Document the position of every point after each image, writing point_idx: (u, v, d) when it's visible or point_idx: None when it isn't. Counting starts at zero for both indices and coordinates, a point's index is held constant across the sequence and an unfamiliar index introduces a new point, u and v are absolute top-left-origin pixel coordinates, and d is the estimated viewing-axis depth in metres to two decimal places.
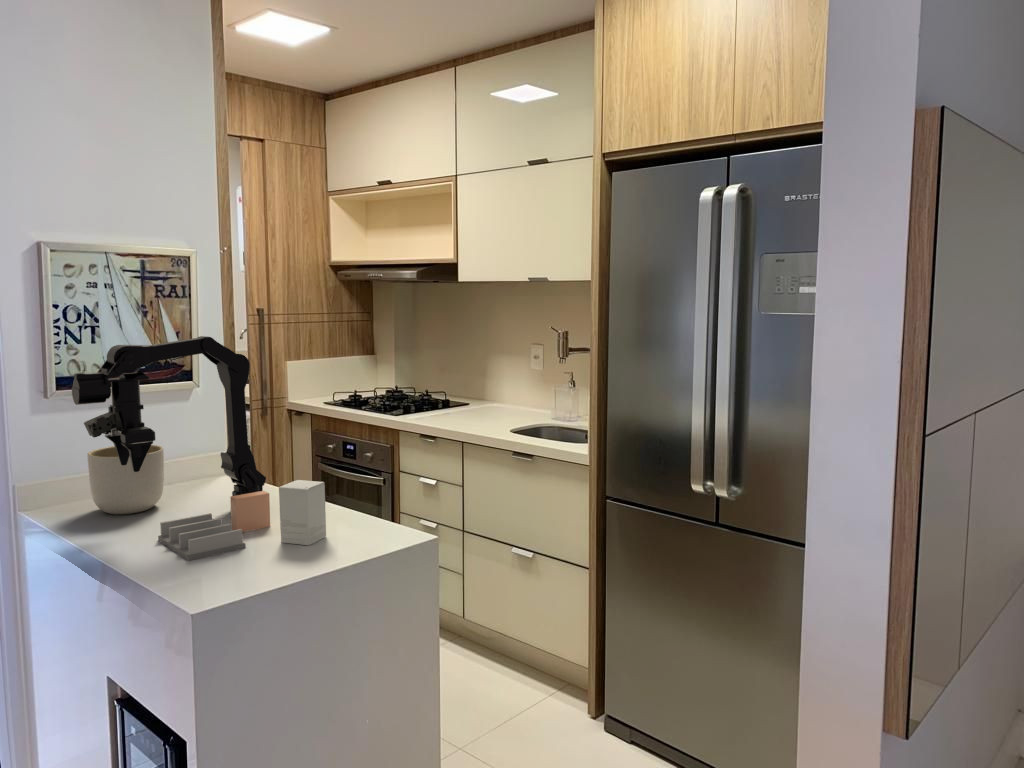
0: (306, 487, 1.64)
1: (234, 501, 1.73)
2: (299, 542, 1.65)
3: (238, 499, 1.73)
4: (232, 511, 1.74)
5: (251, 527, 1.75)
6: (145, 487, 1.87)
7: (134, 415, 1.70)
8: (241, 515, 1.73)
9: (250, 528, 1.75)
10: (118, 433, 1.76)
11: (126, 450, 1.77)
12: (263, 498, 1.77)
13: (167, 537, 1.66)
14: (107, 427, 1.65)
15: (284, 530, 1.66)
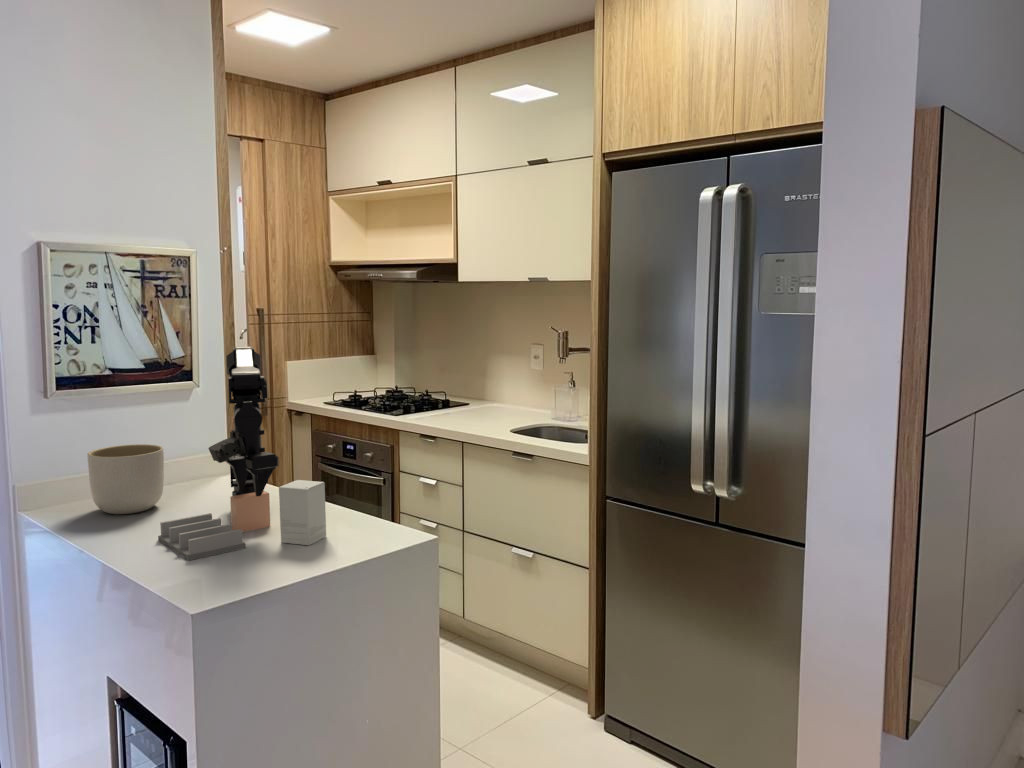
0: (306, 487, 1.64)
1: (234, 501, 1.73)
2: (299, 542, 1.65)
3: (238, 499, 1.73)
4: (232, 511, 1.74)
5: (251, 527, 1.75)
6: (145, 487, 1.87)
7: (256, 441, 1.73)
8: (241, 515, 1.73)
9: (250, 528, 1.75)
10: (236, 457, 1.79)
11: (243, 474, 1.80)
12: (263, 498, 1.77)
13: (167, 537, 1.66)
14: (233, 453, 1.68)
15: (284, 530, 1.66)
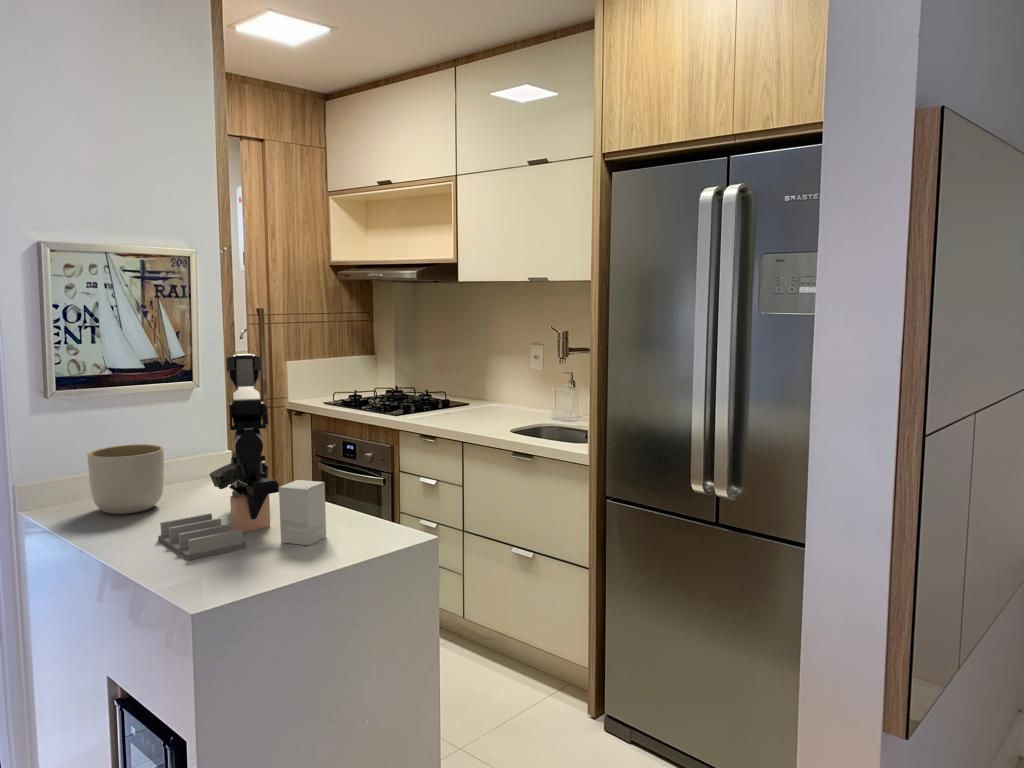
0: (306, 487, 1.64)
1: (234, 501, 1.73)
2: (299, 542, 1.65)
3: (238, 499, 1.73)
4: (232, 511, 1.74)
5: (251, 527, 1.75)
6: (145, 487, 1.87)
7: (257, 466, 1.74)
8: (241, 514, 1.73)
9: (250, 528, 1.75)
10: (242, 484, 1.77)
11: None
12: None
13: (167, 537, 1.66)
14: (234, 479, 1.69)
15: (284, 530, 1.66)
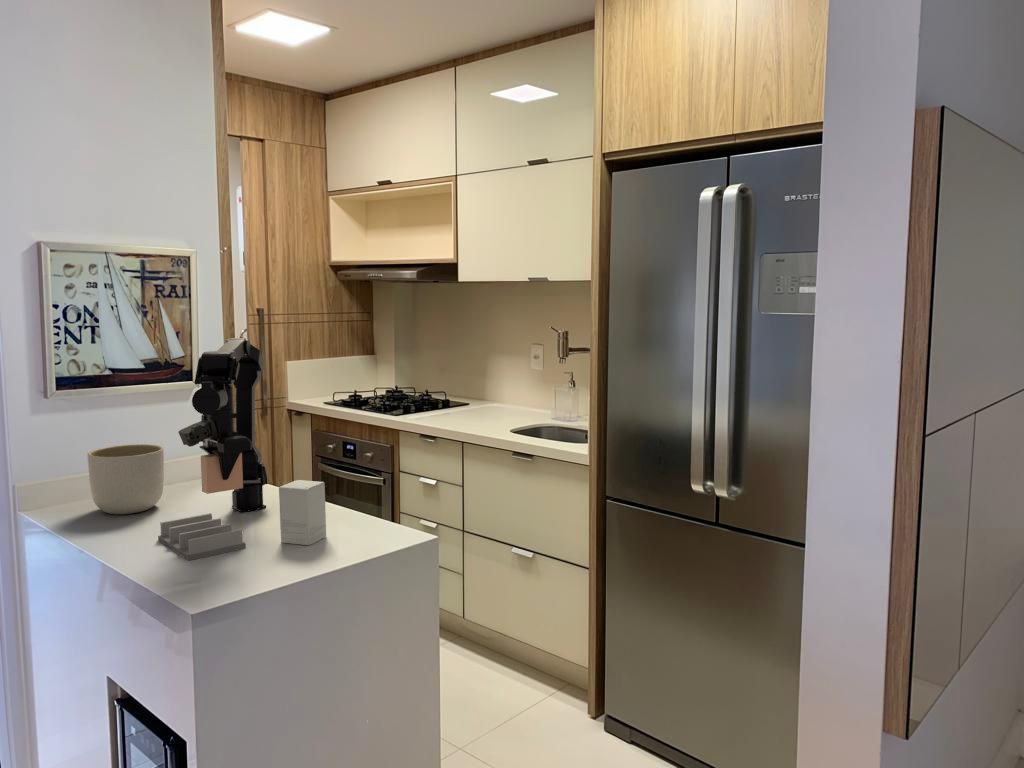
0: (306, 487, 1.64)
1: (205, 460, 1.65)
2: (299, 542, 1.65)
3: (209, 458, 1.65)
4: (202, 471, 1.66)
5: (222, 488, 1.67)
6: (145, 487, 1.87)
7: (228, 424, 1.66)
8: (212, 474, 1.65)
9: (221, 489, 1.67)
10: (213, 444, 1.69)
11: None
12: None
13: (167, 537, 1.66)
14: (204, 436, 1.61)
15: (284, 530, 1.66)
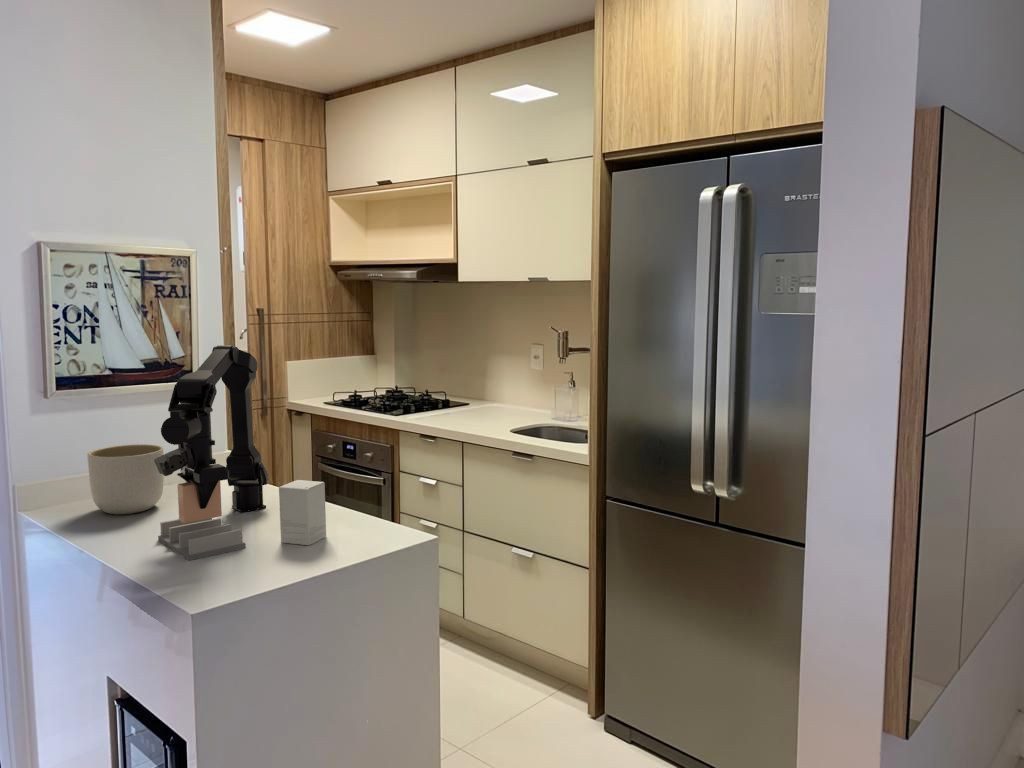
0: (306, 487, 1.64)
1: (181, 488, 1.60)
2: (299, 542, 1.65)
3: (185, 487, 1.60)
4: (179, 500, 1.62)
5: (200, 517, 1.63)
6: (145, 487, 1.87)
7: (205, 452, 1.61)
8: (188, 503, 1.61)
9: (199, 518, 1.63)
10: (191, 471, 1.65)
11: None
12: None
13: (167, 537, 1.66)
14: (179, 465, 1.56)
15: (284, 530, 1.66)
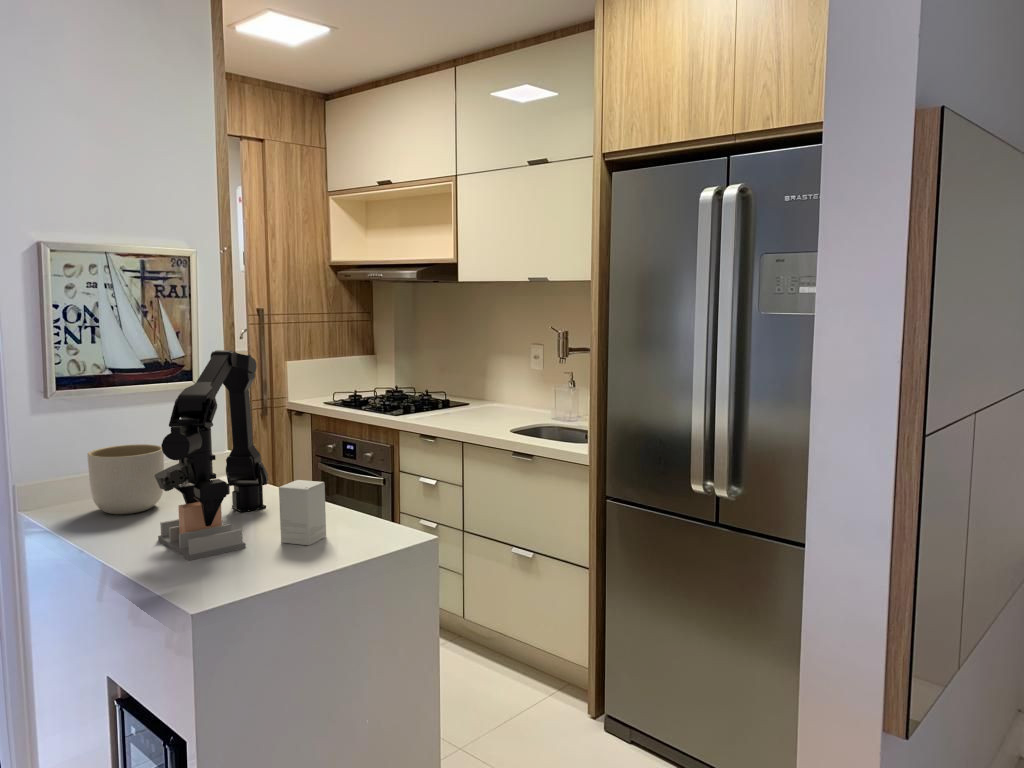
0: (306, 487, 1.64)
1: (182, 510, 1.61)
2: (299, 542, 1.65)
3: (186, 508, 1.61)
4: (180, 521, 1.62)
5: None
6: (145, 487, 1.87)
7: (206, 467, 1.62)
8: (189, 525, 1.62)
9: None
10: (187, 484, 1.67)
11: (195, 501, 1.68)
12: None
13: (167, 537, 1.66)
14: (180, 481, 1.57)
15: (284, 530, 1.66)
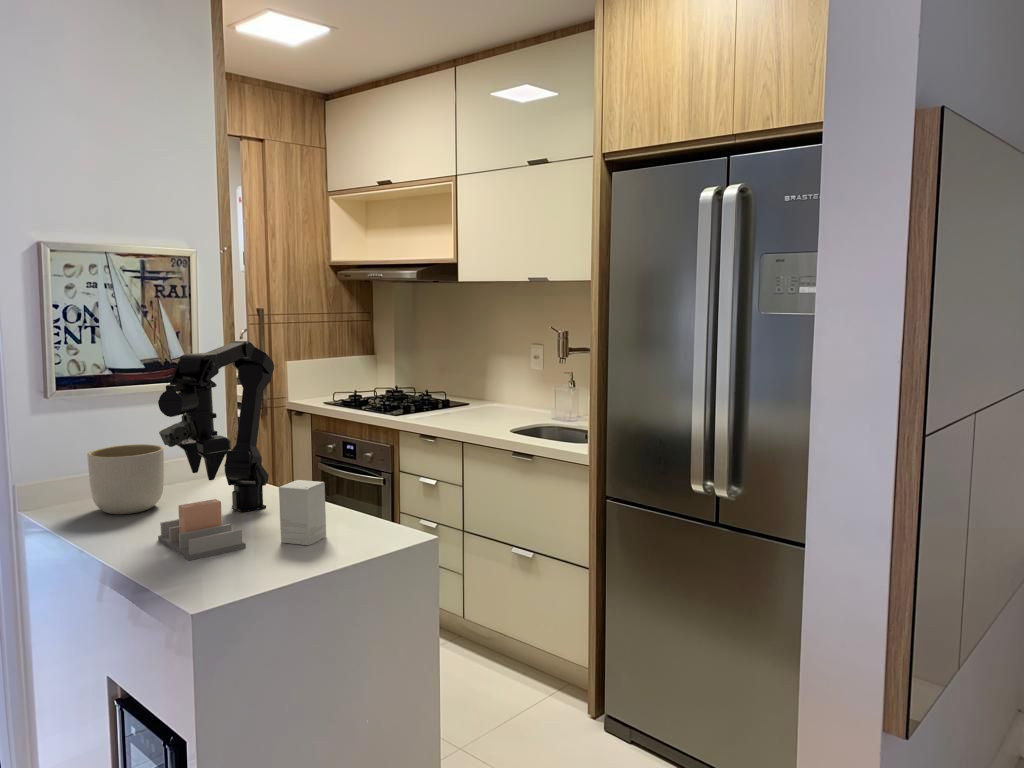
0: (306, 487, 1.64)
1: (182, 510, 1.61)
2: (299, 542, 1.65)
3: (186, 508, 1.61)
4: (180, 521, 1.62)
5: None
6: (145, 487, 1.87)
7: (208, 424, 1.71)
8: (189, 525, 1.62)
9: None
10: (189, 441, 1.77)
11: (197, 458, 1.78)
12: (214, 507, 1.65)
13: (167, 537, 1.66)
14: (184, 437, 1.66)
15: (284, 530, 1.66)
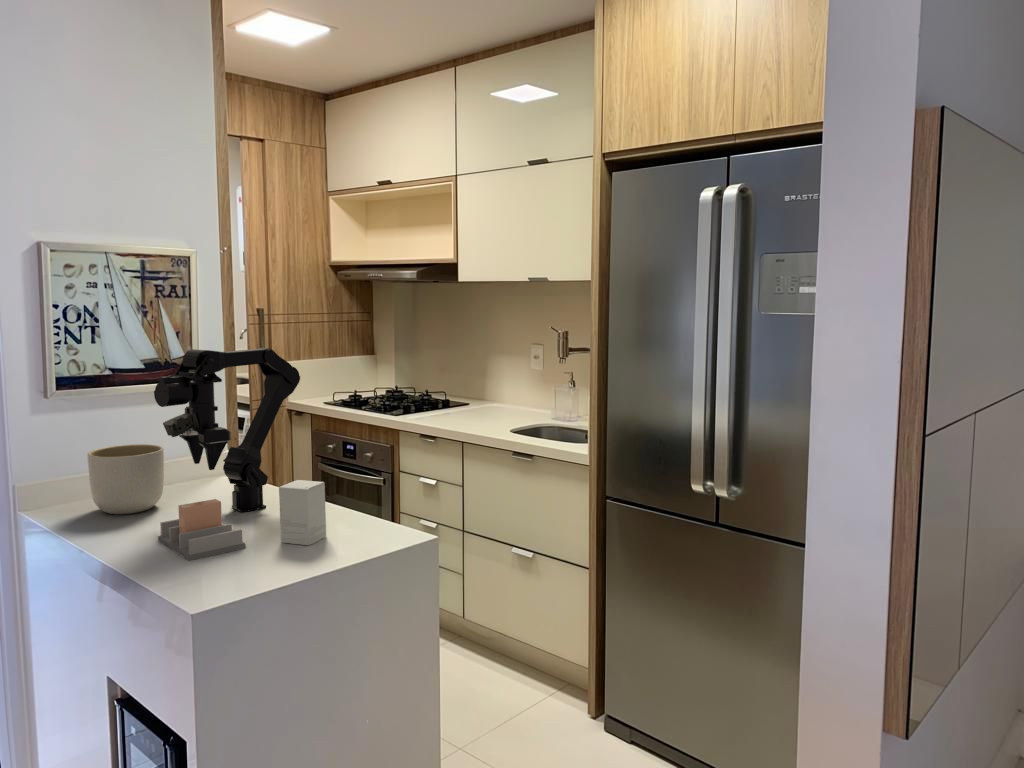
0: (306, 487, 1.64)
1: (182, 510, 1.61)
2: (299, 542, 1.65)
3: (186, 508, 1.61)
4: (180, 521, 1.62)
5: None
6: (145, 487, 1.87)
7: (209, 416, 1.79)
8: (189, 525, 1.62)
9: None
10: (192, 433, 1.85)
11: (199, 449, 1.86)
12: (214, 507, 1.65)
13: (167, 537, 1.66)
14: (186, 427, 1.74)
15: (284, 530, 1.66)
